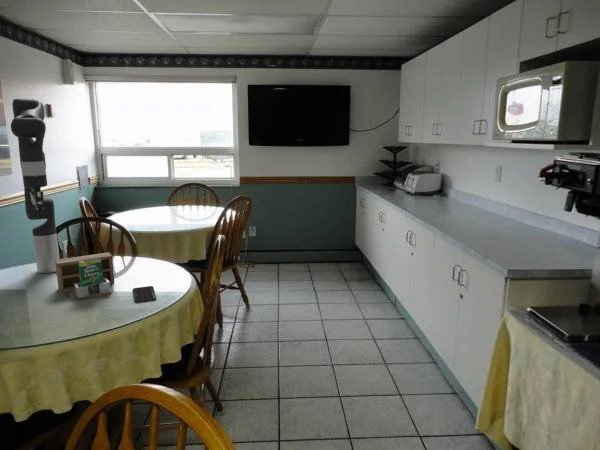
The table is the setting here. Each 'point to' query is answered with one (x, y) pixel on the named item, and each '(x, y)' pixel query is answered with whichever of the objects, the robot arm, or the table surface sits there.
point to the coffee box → (90, 274)
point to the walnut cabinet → (70, 272)
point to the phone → (144, 294)
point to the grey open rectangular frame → (84, 289)
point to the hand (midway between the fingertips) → (39, 216)
